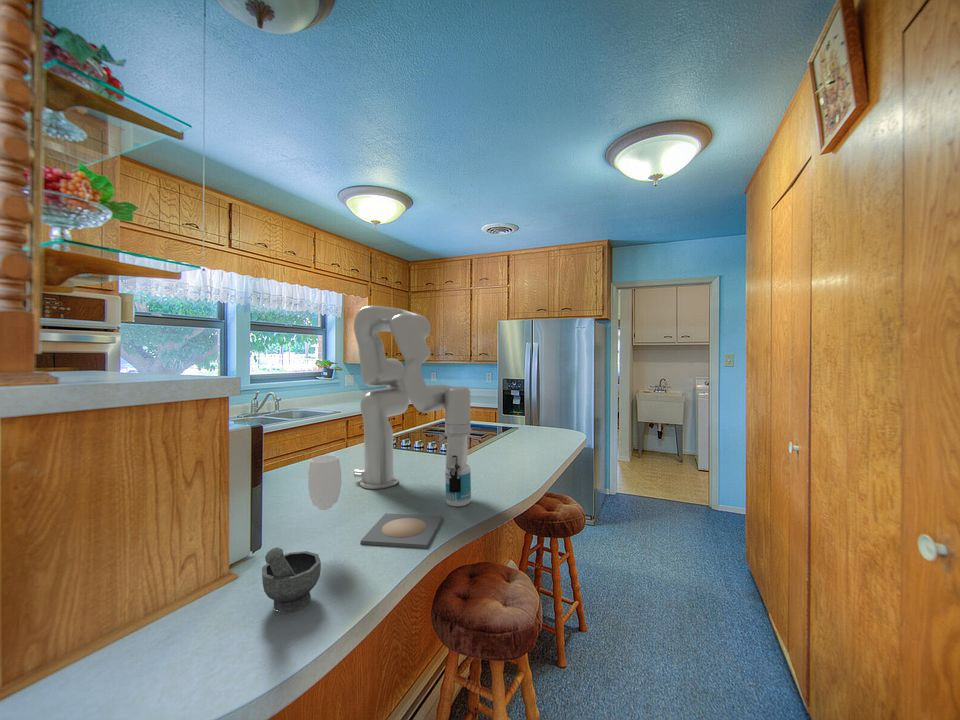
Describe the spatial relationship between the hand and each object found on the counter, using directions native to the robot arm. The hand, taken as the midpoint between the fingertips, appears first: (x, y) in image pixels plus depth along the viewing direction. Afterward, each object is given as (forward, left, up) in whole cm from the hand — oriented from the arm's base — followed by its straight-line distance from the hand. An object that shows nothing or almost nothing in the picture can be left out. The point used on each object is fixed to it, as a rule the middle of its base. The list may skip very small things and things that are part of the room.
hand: (458, 486), depth 120 cm
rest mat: (-10, -20, -5) cm, 23 cm away
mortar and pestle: (-21, -51, -5) cm, 55 cm away
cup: (-25, -31, -5) cm, 40 cm away
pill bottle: (0, 0, -5) cm, 5 cm away
